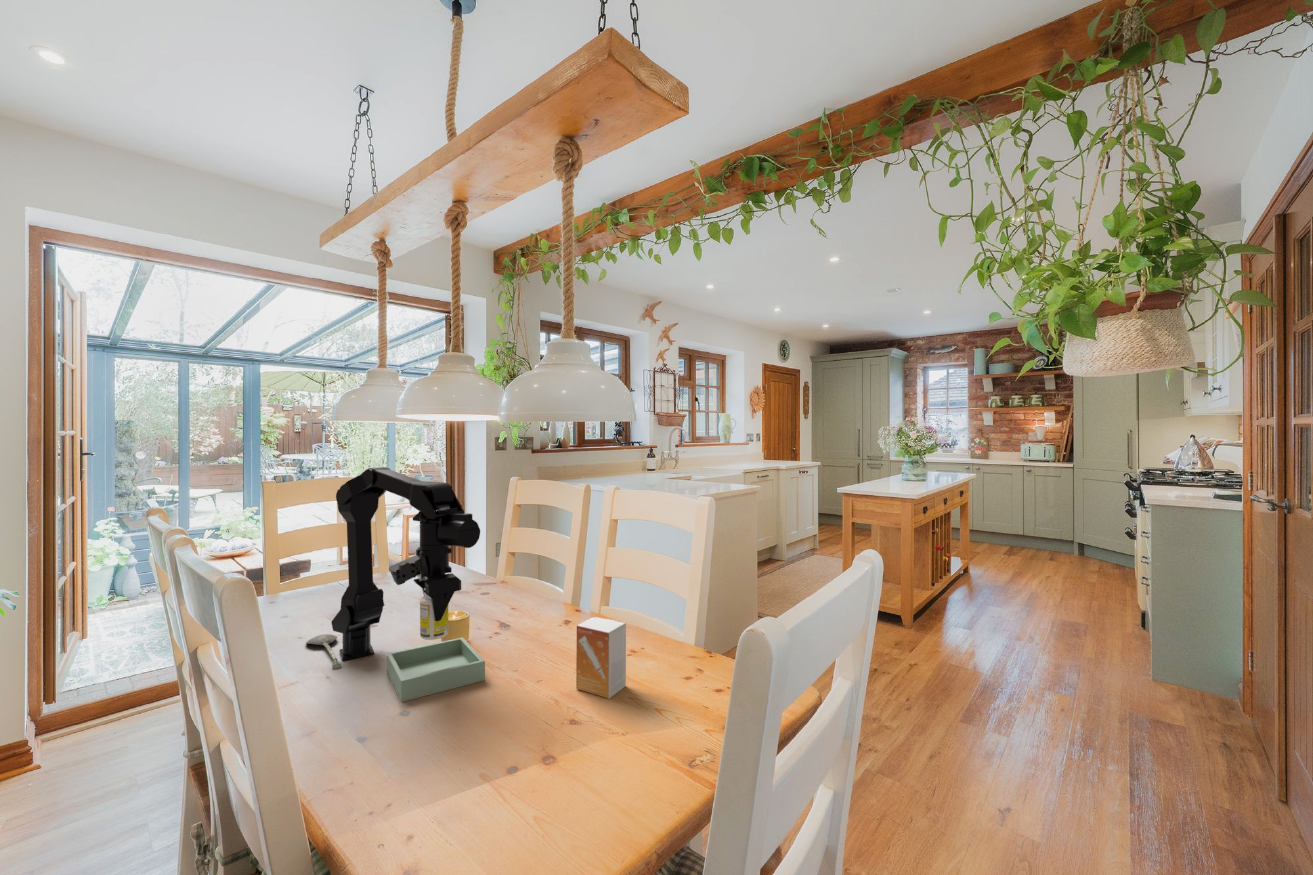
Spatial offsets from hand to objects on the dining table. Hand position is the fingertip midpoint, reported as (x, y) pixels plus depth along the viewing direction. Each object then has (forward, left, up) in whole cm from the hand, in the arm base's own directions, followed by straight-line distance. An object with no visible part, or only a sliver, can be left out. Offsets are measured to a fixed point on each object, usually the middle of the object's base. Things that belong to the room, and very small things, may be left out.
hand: (434, 616), depth 115 cm
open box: (0, 0, -13) cm, 13 cm away
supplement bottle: (0, 0, -4) cm, 4 cm away
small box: (+25, +26, -13) cm, 38 cm away
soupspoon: (-27, -17, -13) cm, 35 cm away
